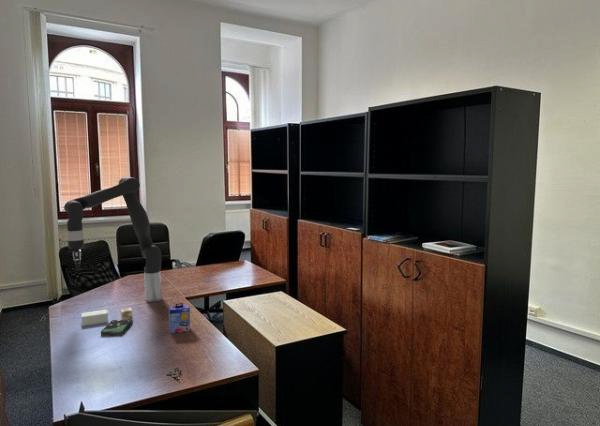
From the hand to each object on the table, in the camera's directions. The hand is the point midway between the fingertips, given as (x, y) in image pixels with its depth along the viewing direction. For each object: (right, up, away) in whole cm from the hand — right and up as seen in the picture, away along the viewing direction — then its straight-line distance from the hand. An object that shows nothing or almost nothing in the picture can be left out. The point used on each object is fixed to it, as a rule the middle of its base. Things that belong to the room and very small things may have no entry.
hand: (78, 268), depth 224 cm
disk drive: (+26, -29, -13) cm, 42 cm away
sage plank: (+11, -27, -4) cm, 30 cm away
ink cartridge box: (+58, -29, -14) cm, 66 cm away
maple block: (+26, -27, +1) cm, 37 cm away
